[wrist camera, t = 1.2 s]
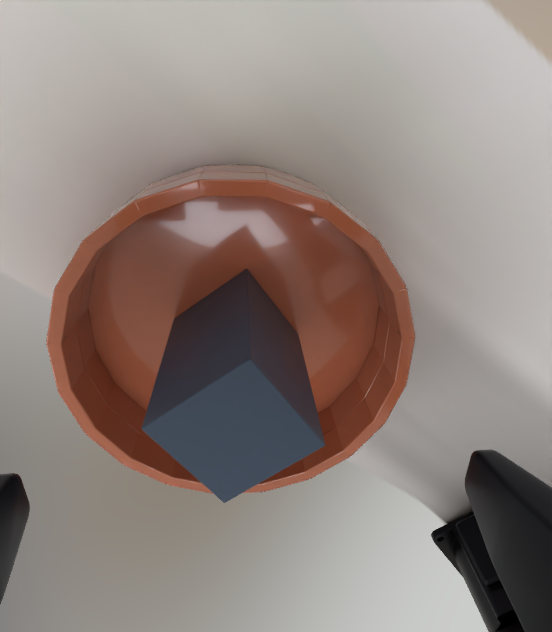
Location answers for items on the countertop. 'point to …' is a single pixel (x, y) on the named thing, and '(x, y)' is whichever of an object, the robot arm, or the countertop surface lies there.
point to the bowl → (208, 275)
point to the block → (234, 391)
